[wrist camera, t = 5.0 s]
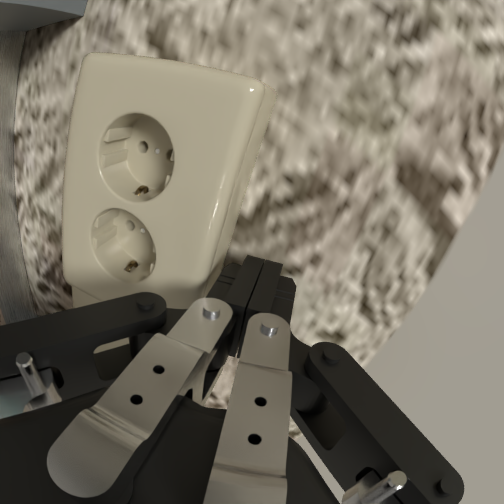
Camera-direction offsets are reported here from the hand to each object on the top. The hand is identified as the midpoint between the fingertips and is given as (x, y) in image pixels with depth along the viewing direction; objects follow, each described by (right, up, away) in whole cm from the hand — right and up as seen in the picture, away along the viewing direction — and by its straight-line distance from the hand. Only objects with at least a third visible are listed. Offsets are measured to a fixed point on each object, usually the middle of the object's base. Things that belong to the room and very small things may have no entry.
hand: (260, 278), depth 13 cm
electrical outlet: (-5, +1, +3) cm, 6 cm away
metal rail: (-17, +6, +3) cm, 18 cm away
